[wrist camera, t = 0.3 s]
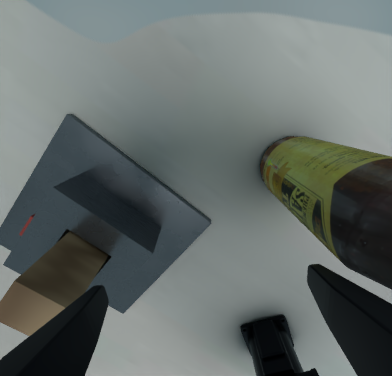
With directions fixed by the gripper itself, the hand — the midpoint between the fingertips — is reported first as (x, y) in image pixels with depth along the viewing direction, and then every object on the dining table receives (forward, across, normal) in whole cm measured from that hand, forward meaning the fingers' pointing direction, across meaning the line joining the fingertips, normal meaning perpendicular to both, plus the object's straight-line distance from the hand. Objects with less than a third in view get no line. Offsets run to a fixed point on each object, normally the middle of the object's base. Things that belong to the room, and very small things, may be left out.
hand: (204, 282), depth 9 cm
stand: (+14, +12, +4) cm, 19 cm away
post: (+14, +12, +4) cm, 19 cm away
